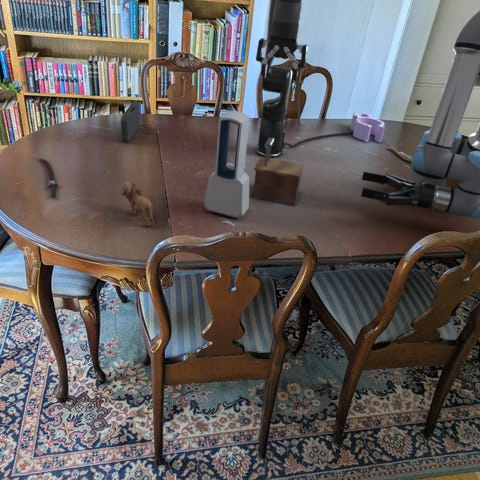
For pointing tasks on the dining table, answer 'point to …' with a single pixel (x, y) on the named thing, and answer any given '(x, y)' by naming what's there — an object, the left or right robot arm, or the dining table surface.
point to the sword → (52, 181)
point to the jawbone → (402, 154)
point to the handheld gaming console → (130, 121)
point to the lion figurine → (137, 201)
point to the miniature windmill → (295, 98)
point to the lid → (277, 164)
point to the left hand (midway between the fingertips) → (278, 79)
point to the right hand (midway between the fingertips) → (362, 183)
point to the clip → (367, 127)
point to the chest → (276, 187)
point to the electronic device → (229, 170)
